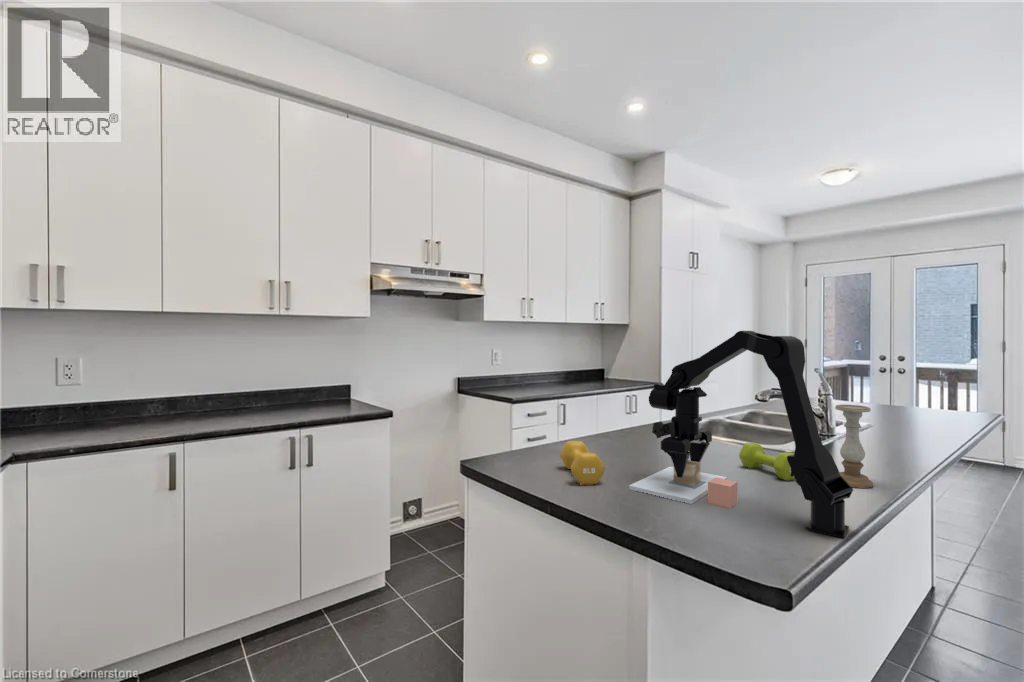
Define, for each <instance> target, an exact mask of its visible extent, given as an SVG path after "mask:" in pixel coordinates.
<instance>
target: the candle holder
mask: <svg viewBox="0 0 1024 682" xmlns="http://www.w3.org/2000/svg"><path fill="white" fill-rule="evenodd" d="M834 409H835V410H838V411H840V412H841V411H842V415H843V416H844V418H845V420H846V421H845V423H844V424H843V427H845V439H844V442H843V443H842V446H841V447H840V449H839V455H840V457H841V458H842V459H843V460H842V461H841V465H842V466H843V468H844V471H839V474H840V475H841V476H842V477H843V479H844V480H845V481H846V482H847V483H848V484H849V485H850V486H851V487H852V488H858V489H859V488H860V489H869V487H870V488H872V486H873V487H874V481H872V480H871V479H869V477H868V476H867V475H865V474H863V473H861V471H862V469H863V467H864V466H865V465H864V463H863V462H862V461H863V460H864V459H865V457H866V452H865V449H864V447H863V446H862V443H861V440H860V429H861V428H862V425H861V424H860V419H861V418H862V417H863V413H870V412H871V408H870V406H865V405H859V404H858V405H857V404H836V405H835V407H834Z"/></svg>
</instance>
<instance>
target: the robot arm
mask: <svg viewBox="0 0 1024 682" xmlns="http://www.w3.org/2000/svg"><path fill="white" fill-rule="evenodd" d="M746 351H750V352H751V353H754V354H757V355H761V356H762V357H763V359H764V362H765V363H766V366H767V368H768V369H769V370H770V371H771V372H772V374H773V375H774V376H775V377H776V378H777V381H778V385H779V389H780V393H781V396H782V400H783V404H784V408H785V411H786V412H785V413H786V416H787V419H788V422H789V427H790V431H791V434H792V437H793V441H794V446H795V448H794V452H793V453H794V455H790V456H787V460H788V463H789V465H790V468H791V477H792V476H794V478H795V480H794V481H795V482H796V483H797V485H798V486H799V487H800V489H801V492H802V495H803V497H804V500H807V501H810V520H809V521H808V522H807V524H806V525H805V529H806V530H808V531H811V532H816V533H821V534H824V535H829V536H833V537H837V538H842V539H843V538H845V537H846V536H847V534H848V532H849V530H850V526H849V525H846V524H845V517H846V516H845V514H846V513H845V511H846V510H845V508H846V506H845V504H846V502H845V500H846V499H849V498H850V497H851V495H852V493H853V492H854V489H853V488H854V487H851V486H850V485H849V484H848V483H847V482H846V481H845V480H844V479H843V477H842V476H841V475H840V474H839V472H840V470H839V468H838V465H836V462H835V460H834V457H833V455H832V454H831V453H830V452H829V451H828V449H827V447H825V445H824V444H823V443H822V440H821V436H820V433H819V430H818V426H817V423H816V419H815V415H814V410H813V408H812V403H811V399H810V396H809V393H808V390H807V385H806V382H805V379H804V371H805V365H806V354H805V346H804V343H803V341H802V340H801V339H800V338H797V337H796V336H792V335H770V334H769V335H768V334H764V333H759V332H756V331H754V330H739V331H737V332H736V333H734V335H732V336H731V337H729V338H728V339H726V340H724V341H723V342H721V343H720V344H719V345H716V346H715V347H714V348H712V349H710V350H709V351H707V352H706V353H704V354H703V355H701V356H700V357H698V358H694V359H692V360H688V361H685V362H682V363H680V364H677V365H675V366H673V368H672V369H671V374H670V376H669V377H668V379H666V380H667V381H666V382H665V383H664V384H663V383H654V384H653V388H652V389H651V391H650V393H649V396H648V403H649V405H650V407H651V408H654V409H658V410H666V411H671V412H672V411H675V412H674V413H675V416H674V415H673V416H672V417H671V421H670V422H666V423H663V421H657V422H653V425H652V431H651V432H652V433H651V434H653V435H655V436H656V439H660V438H662V437H664V438H663V439H662V440H660V450H662V451H663V452H664V453H666V454H667V455H668V456H670V458H671V462H672V464H673V467H674V468H675V471H676V474H677V477H680V478H681V477H682V476H683V473H684V471H685V468H686V464H687V461H688V460H689V458H690V461H694V462H700V463H701V462H702V459H703V457H704V455H705V453H706V452H707V450H708V448H709V446H710V445H711V442H713V433H711V431H710V430H709V429H707V430H706V429H700V422H703V417H702V416H700V399H699V398H703V397H704V398H705V397H707V395H708V394H707V393H706V392H705V391H704V390H703V389H702V387H701V386H699V385H701V384H702V383H703V382H705V381H706V379H708V378H709V376H710V374H711V373H712V372H713V371H714V370H716V369H718V368H719V367H721V366H722V365H724V364H726V363H728V362H729V361H731V360H733V359H735V358H736V357H738V356H740V355H741V354H743V353H745V352H746ZM691 387H694V388H693V389H690V388H691ZM667 436H668V437H667Z"/></svg>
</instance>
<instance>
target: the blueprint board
mask: <svg viewBox="0 0 1024 682" xmlns="http://www.w3.org/2000/svg"><path fill="white" fill-rule="evenodd" d="M714 478H722V479H727V480H728V476H727V477H726V476H722V475H716V474H712V473H707V472H702V471H701V482H699V483H698V484H696V485H694V486H689V485H684V484H679V483H675V482H674V466H668V467H666V468H664V469H662V470H659V471H657V472H655V473H652V474H651V475H649V476H647V477H644V478H642V479H640V480H638V481H636V482H633V483H632V484H629V485H628V490H630V491H633V492H634V491H635V492H638V491H639V493H642V492H644V494H646V493H648V494H647V495H651V494H652V495H651V496H655V495H656V496H655V497H659V496H660V498H663V497H664V499H667V498H668V500H671V499H672V500H673V501H676V500H677V502H680V501H681V502H680V503H684V502H685V503H686V504H688V505H689V504H690V505H692V504H694V503H696V502H697V501H699V500H700V499H701V498H703V497H705V496H707V495H708V482H709V481H710V480H712V479H714ZM672 500H671V501H672Z"/></svg>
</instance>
